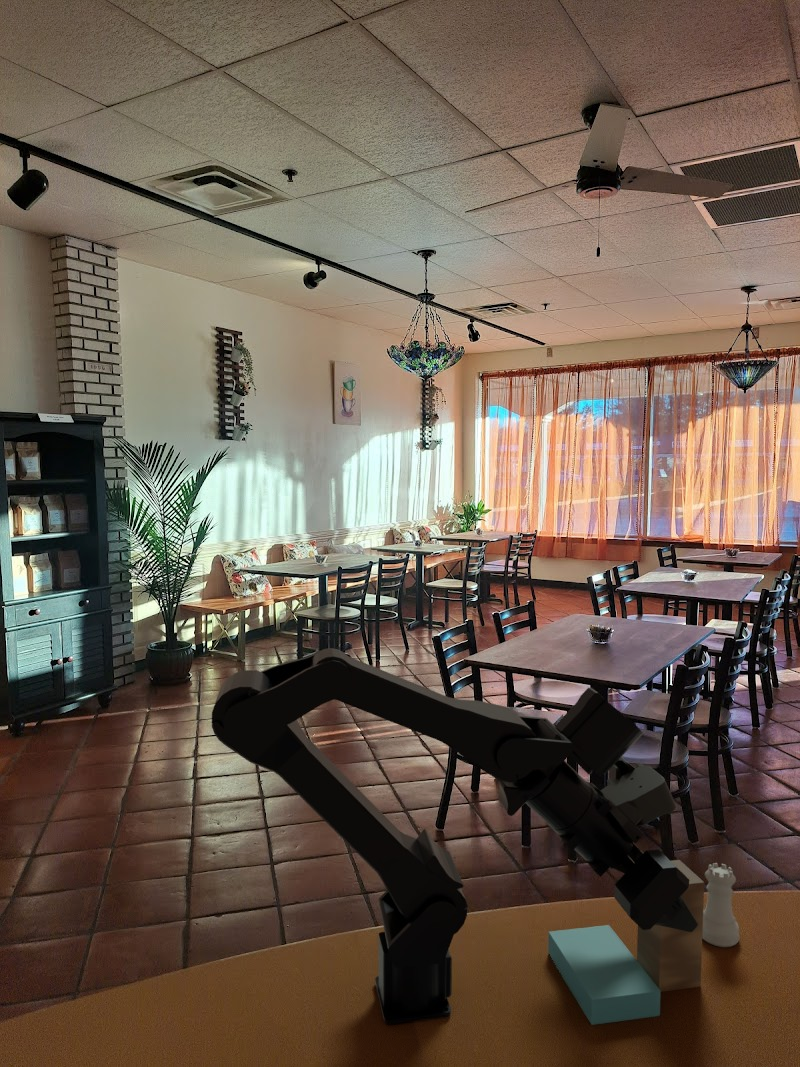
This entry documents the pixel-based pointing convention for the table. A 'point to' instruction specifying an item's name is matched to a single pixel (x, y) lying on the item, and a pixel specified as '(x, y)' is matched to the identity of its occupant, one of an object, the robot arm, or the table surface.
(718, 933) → the rook chess piece
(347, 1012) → the table surface
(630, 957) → the base block
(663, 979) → the tan wooden block
